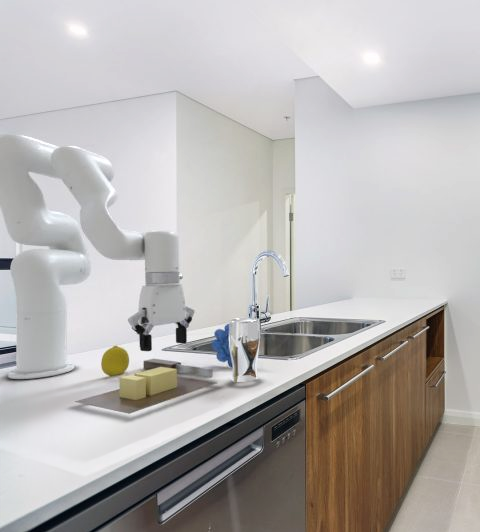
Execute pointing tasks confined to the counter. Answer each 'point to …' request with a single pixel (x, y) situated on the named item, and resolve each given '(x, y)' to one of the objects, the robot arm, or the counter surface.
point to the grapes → (222, 345)
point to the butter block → (159, 379)
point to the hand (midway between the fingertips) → (164, 346)
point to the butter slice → (132, 387)
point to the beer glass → (244, 348)
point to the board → (129, 406)
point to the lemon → (115, 361)
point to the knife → (177, 367)
